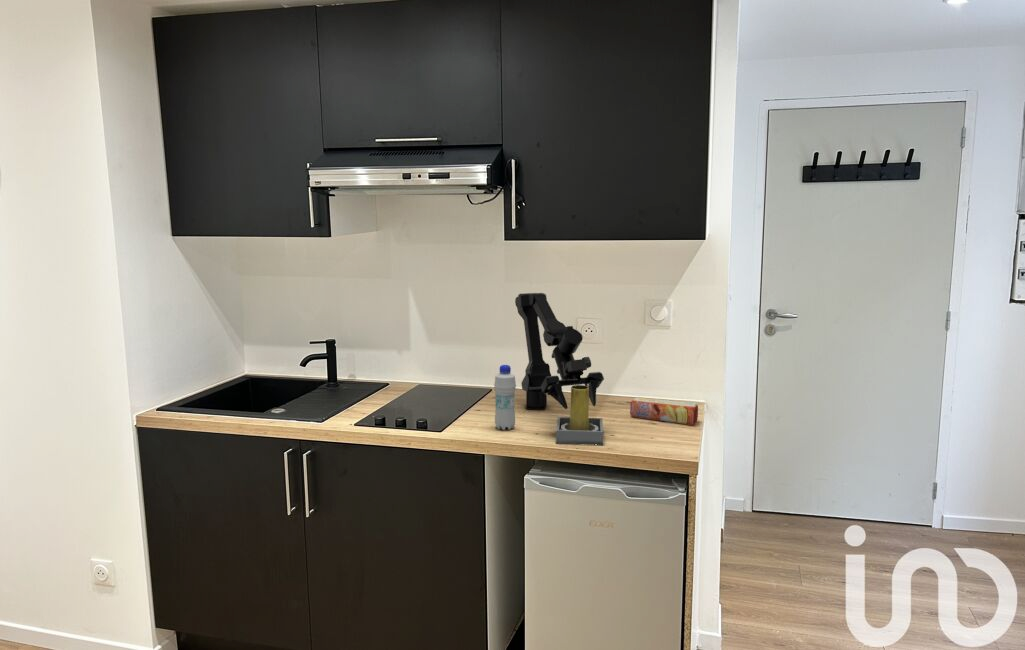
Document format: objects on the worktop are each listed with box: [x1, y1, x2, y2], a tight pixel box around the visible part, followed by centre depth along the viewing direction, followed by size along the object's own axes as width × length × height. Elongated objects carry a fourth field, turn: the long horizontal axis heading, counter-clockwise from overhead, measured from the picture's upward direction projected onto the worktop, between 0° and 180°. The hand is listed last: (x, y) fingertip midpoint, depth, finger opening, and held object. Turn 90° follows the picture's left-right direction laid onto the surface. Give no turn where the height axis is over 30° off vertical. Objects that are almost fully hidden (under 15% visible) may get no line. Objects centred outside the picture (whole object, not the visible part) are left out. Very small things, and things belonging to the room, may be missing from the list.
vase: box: [569, 384, 590, 431], centre depth 223 cm, size 6×6×14 cm
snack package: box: [629, 396, 699, 426], centre depth 242 cm, size 21×7×7 cm, turn 63°
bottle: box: [493, 364, 517, 431], centre depth 231 cm, size 7×7×20 cm
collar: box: [561, 423, 598, 431], centre depth 224 cm, size 11×11×2 cm
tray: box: [555, 416, 604, 446], centre depth 224 cm, size 14×14×4 cm
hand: (580, 406), depth 223 cm, fingers open, 9 cm apart
